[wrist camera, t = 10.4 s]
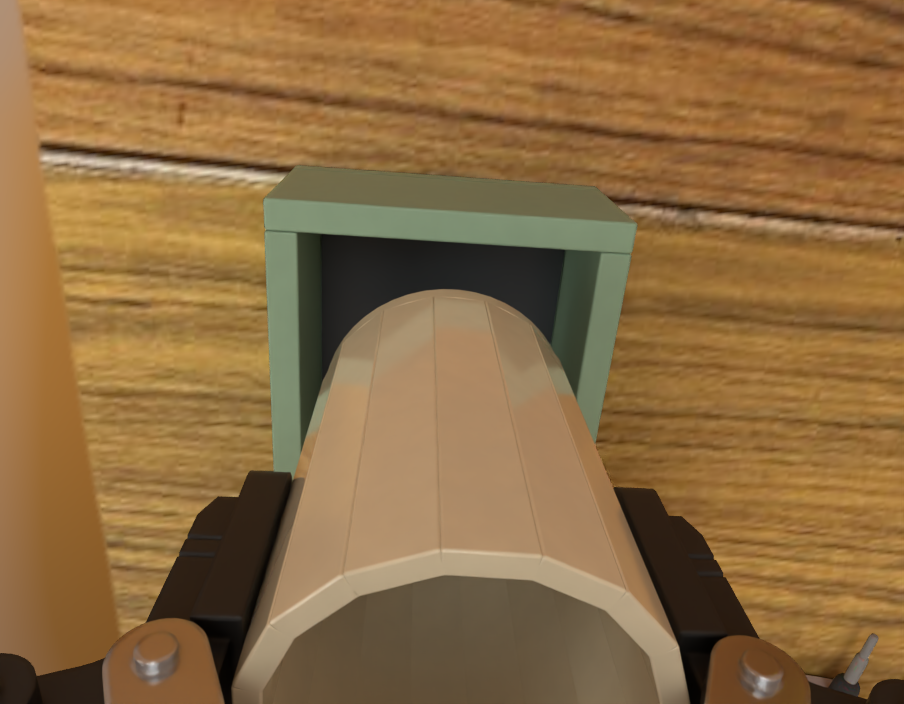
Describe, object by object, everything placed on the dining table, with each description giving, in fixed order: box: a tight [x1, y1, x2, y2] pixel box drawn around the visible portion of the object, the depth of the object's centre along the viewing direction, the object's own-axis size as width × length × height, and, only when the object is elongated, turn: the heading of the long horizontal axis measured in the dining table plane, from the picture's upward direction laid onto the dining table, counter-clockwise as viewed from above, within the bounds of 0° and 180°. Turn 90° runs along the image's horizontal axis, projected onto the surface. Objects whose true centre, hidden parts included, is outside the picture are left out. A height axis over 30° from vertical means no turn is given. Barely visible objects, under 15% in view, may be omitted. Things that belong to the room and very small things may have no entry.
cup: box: [231, 289, 691, 704], centre depth 13 cm, size 6×6×9 cm
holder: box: [263, 165, 637, 482], centre depth 22 cm, size 17×9×5 cm, turn 176°
